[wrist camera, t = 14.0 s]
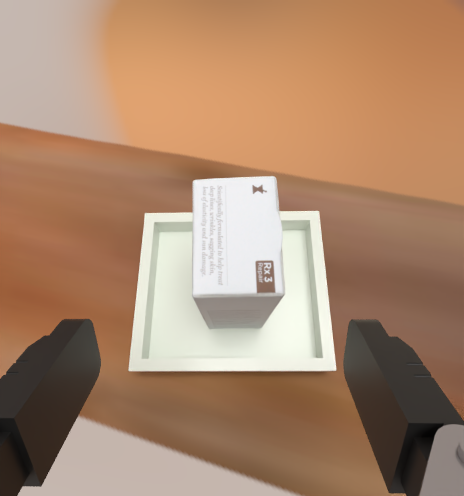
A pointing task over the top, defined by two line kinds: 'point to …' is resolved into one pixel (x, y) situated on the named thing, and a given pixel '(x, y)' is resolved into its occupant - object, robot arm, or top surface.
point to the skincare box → (237, 251)
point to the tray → (230, 339)
